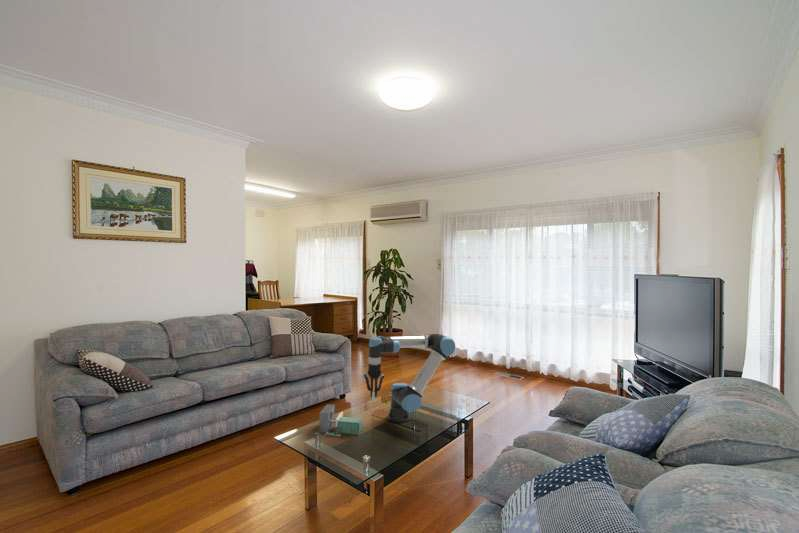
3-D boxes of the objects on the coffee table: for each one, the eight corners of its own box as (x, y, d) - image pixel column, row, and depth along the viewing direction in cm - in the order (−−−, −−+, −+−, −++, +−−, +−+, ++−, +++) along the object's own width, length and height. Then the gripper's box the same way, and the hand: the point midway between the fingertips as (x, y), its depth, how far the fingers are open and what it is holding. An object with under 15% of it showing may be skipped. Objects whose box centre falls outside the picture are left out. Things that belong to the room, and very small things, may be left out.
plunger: (342, 424, 234) (343, 412, 234) (335, 435, 218) (335, 422, 218) (322, 422, 235) (323, 410, 235) (314, 433, 220) (314, 420, 220)
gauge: (347, 424, 234) (348, 406, 234) (340, 436, 218) (341, 416, 218) (326, 423, 236) (326, 404, 236) (317, 434, 220) (318, 414, 220)
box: (359, 435, 221) (359, 422, 221) (337, 433, 222) (337, 421, 222) (361, 430, 228) (362, 417, 228) (340, 428, 230) (341, 416, 230)
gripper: (386, 362, 229) (384, 400, 229) (365, 361, 230) (364, 399, 230) (384, 365, 221) (383, 404, 221) (362, 364, 223) (361, 403, 223)
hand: (373, 401), depth 226 cm, fingers closed
